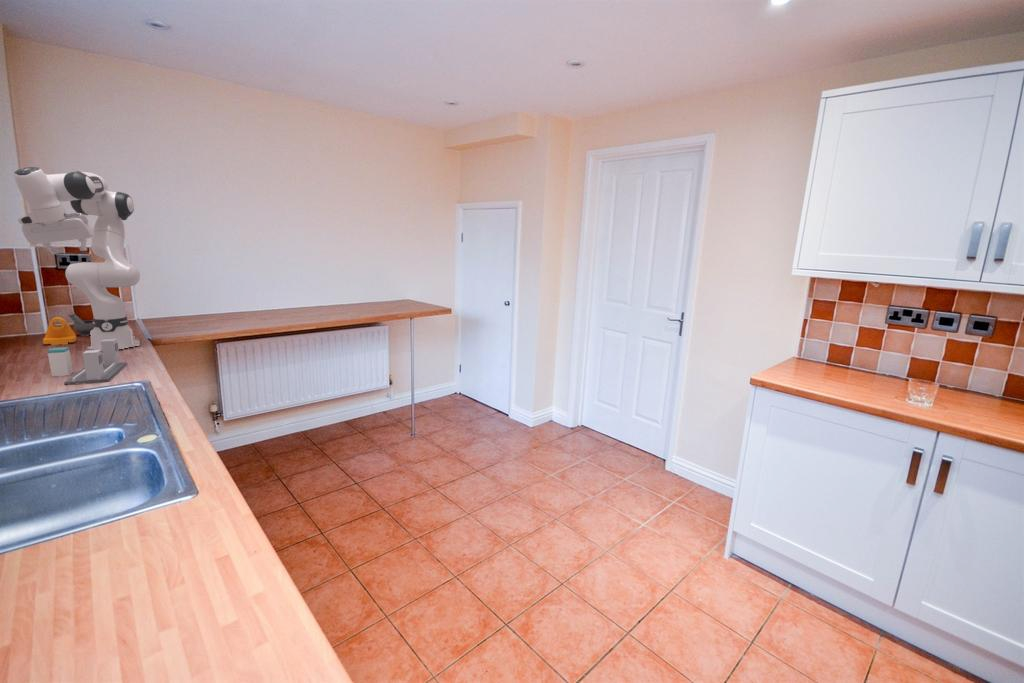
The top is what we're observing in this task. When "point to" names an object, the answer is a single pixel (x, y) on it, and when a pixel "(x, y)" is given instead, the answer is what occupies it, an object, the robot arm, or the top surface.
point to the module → (60, 361)
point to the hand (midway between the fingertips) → (70, 252)
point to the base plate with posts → (99, 364)
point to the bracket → (59, 333)
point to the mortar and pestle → (82, 325)
